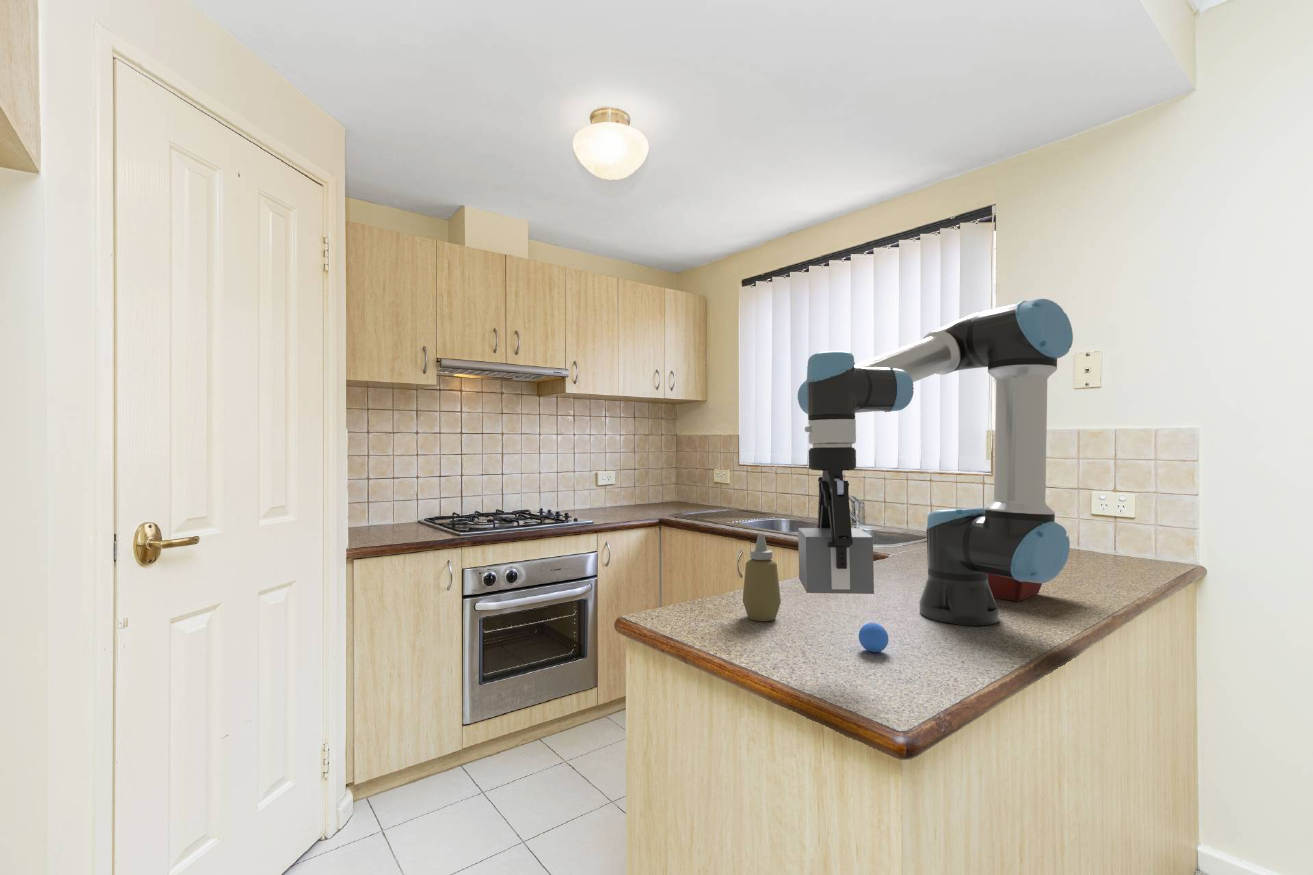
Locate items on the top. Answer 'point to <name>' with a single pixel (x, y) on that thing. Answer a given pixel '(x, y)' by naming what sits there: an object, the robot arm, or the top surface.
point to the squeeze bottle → (761, 584)
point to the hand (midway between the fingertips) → (834, 580)
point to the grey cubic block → (819, 561)
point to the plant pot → (1012, 588)
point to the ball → (873, 637)
